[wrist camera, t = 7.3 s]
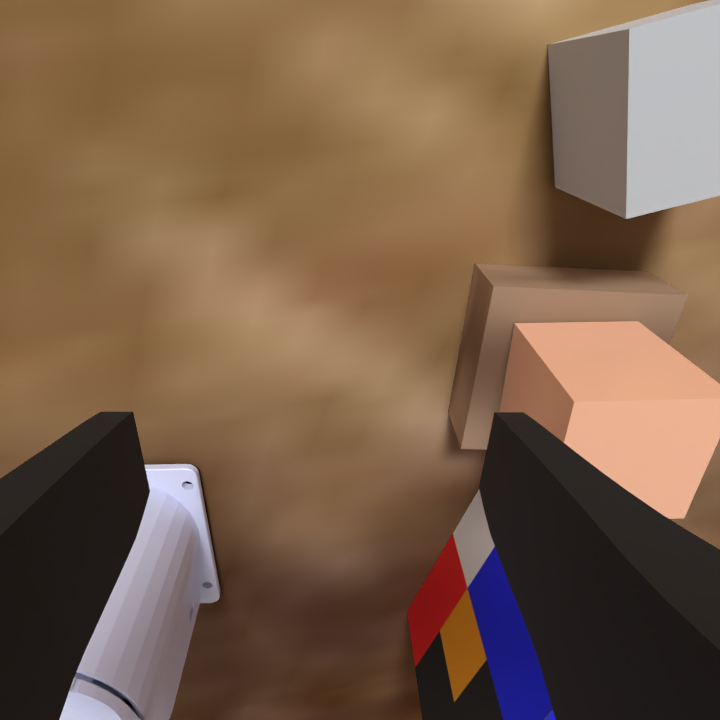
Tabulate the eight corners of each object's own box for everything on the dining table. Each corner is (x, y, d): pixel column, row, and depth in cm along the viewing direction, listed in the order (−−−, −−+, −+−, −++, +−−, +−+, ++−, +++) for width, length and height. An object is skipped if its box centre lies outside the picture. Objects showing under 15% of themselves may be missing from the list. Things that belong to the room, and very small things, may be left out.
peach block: (607, 423, 20) (684, 518, 16) (496, 426, 20) (543, 522, 15) (638, 321, 18) (737, 398, 13) (514, 323, 18) (574, 402, 13)
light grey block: (680, 154, 18) (794, 176, 13) (554, 187, 18) (626, 219, 14) (689, 4, 16) (830, -28, 11) (547, 44, 16) (628, 28, 12)
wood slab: (592, 411, 23) (625, 452, 21) (446, 407, 23) (460, 448, 20) (642, 268, 20) (688, 295, 17) (472, 260, 20) (493, 286, 17)
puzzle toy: (479, 487, 25) (558, 703, 16) (645, 526, 27) (796, 737, 18) (406, 610, 29) (438, 832, 21) (553, 635, 31) (640, 848, 23)
